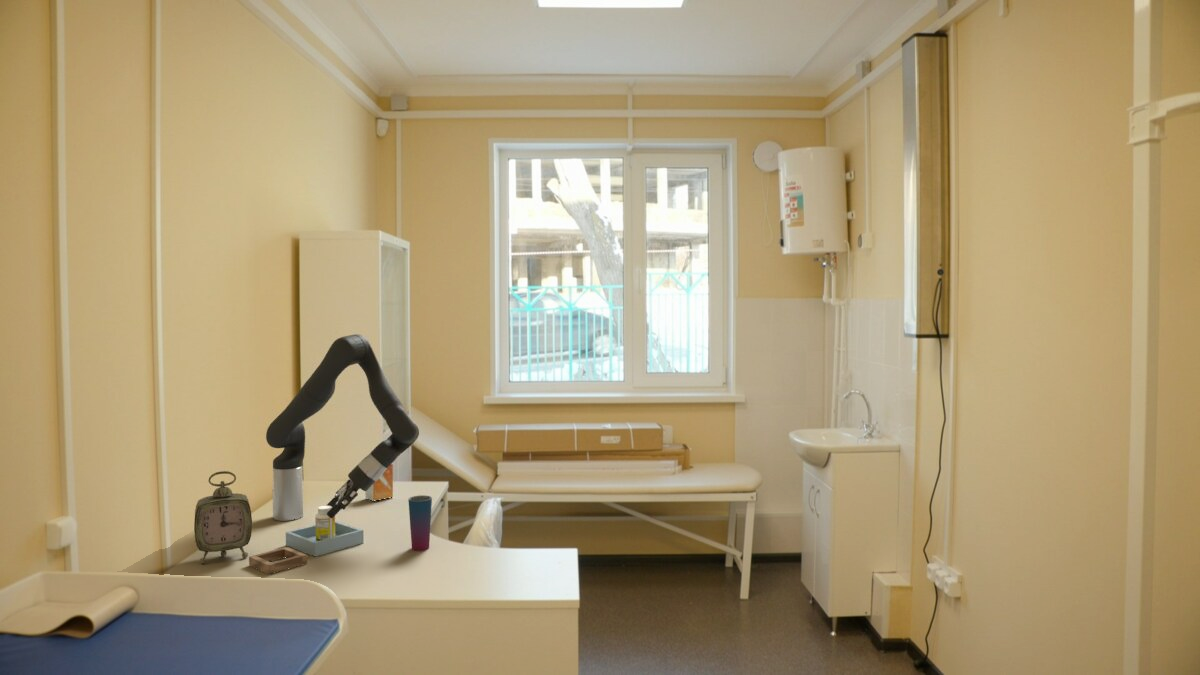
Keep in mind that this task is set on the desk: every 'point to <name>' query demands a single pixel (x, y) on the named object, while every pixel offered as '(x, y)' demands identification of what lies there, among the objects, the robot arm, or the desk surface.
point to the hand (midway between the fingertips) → (328, 512)
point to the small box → (382, 486)
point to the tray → (307, 539)
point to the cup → (420, 521)
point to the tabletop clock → (222, 520)
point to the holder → (263, 561)
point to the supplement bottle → (324, 524)
